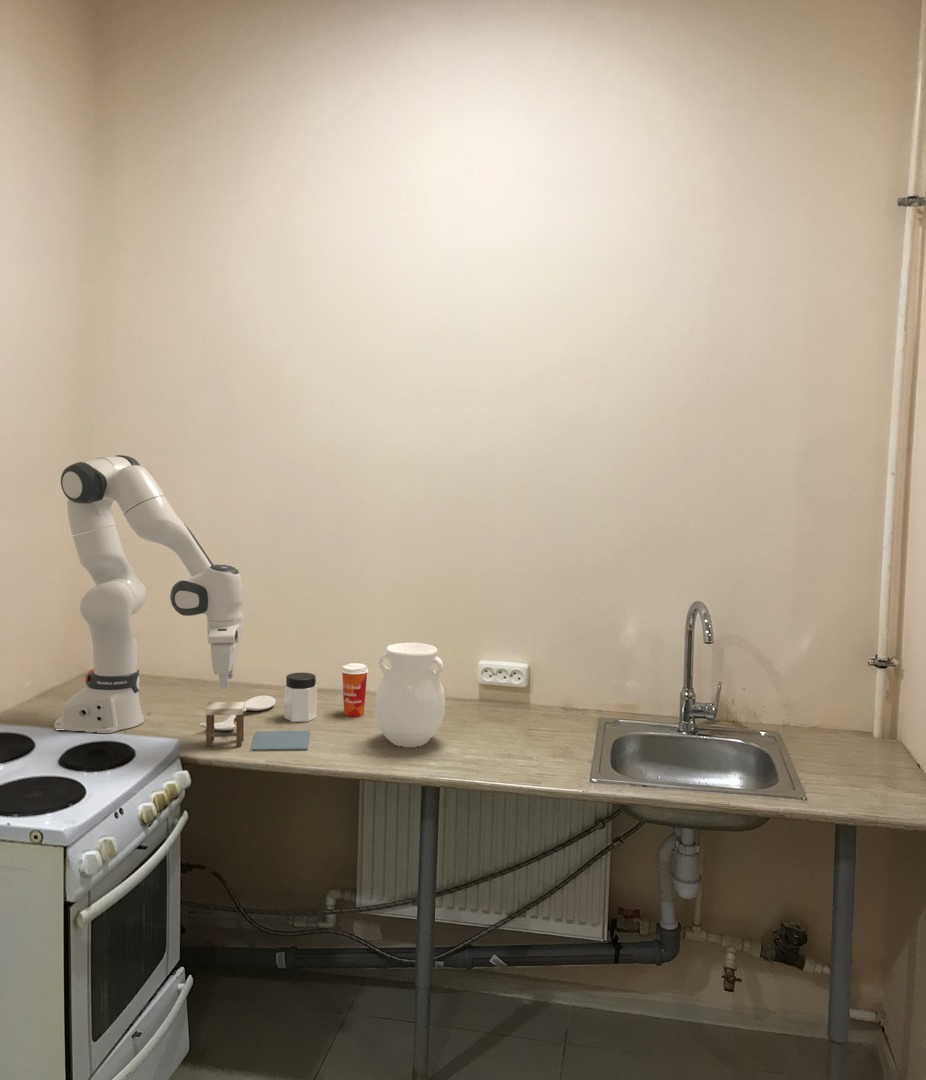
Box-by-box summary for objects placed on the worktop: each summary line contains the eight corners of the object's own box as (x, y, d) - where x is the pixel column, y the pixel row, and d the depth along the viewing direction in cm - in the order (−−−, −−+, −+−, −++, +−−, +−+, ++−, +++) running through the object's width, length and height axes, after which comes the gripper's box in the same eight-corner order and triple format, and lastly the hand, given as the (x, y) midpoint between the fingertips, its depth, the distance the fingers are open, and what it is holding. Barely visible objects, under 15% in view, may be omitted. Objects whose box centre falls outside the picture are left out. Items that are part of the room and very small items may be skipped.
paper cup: (335, 715, 261) (335, 667, 260) (350, 708, 268) (351, 661, 266) (357, 719, 258) (358, 671, 256) (373, 712, 264) (374, 665, 263)
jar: (321, 719, 257) (322, 677, 256) (295, 724, 252) (296, 681, 251) (305, 711, 264) (305, 670, 263) (279, 716, 259) (280, 674, 257)
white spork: (197, 735, 241) (197, 722, 241) (252, 702, 272) (252, 690, 272) (229, 739, 239) (229, 726, 239) (281, 705, 270) (281, 693, 270)
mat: (250, 751, 230) (250, 749, 230) (256, 733, 244) (256, 731, 244) (307, 750, 232) (307, 748, 232) (309, 732, 245) (309, 730, 245)
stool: (205, 747, 231) (205, 708, 230) (208, 739, 237) (208, 702, 236) (241, 747, 232) (242, 708, 231) (244, 739, 238) (244, 701, 237)
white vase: (452, 734, 247) (455, 643, 244) (432, 756, 230) (434, 659, 227) (387, 726, 252) (389, 637, 249) (362, 748, 235) (364, 652, 232)
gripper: (218, 621, 241) (219, 673, 243) (206, 638, 221) (208, 694, 223) (242, 621, 242) (243, 672, 244) (233, 637, 222) (234, 693, 223)
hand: (226, 683), depth 233 cm, fingers open, 8 cm apart
